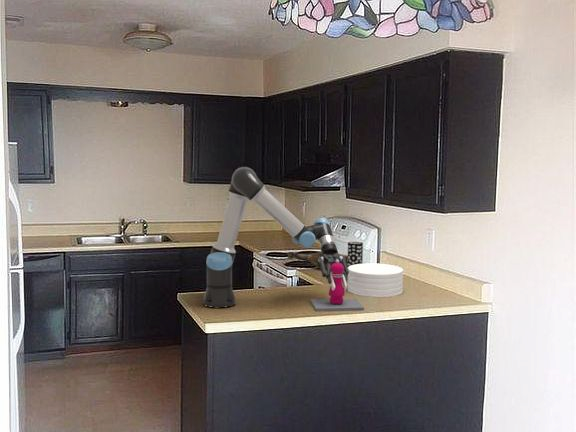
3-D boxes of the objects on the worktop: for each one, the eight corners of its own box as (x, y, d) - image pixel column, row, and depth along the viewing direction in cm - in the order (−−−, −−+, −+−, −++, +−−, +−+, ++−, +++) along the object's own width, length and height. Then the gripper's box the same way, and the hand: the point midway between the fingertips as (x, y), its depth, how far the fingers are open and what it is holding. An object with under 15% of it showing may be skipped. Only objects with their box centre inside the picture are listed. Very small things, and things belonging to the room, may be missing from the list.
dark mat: (315, 311, 273) (315, 308, 273) (310, 301, 289) (310, 299, 289) (363, 310, 275) (363, 307, 275) (356, 301, 291) (356, 298, 291)
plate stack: (346, 295, 302) (346, 273, 300) (348, 283, 329) (349, 262, 328) (403, 298, 298) (404, 275, 296) (401, 285, 325) (401, 264, 324)
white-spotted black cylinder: (360, 280, 335) (361, 244, 333) (345, 279, 338) (346, 243, 336) (363, 277, 343) (364, 242, 341) (349, 276, 346) (349, 241, 343)
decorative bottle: (358, 265, 361) (293, 256, 384) (355, 251, 356) (289, 243, 378) (352, 277, 354) (285, 267, 376) (348, 263, 348) (281, 254, 371)
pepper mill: (331, 304, 277) (332, 261, 275) (326, 300, 284) (327, 258, 282) (346, 303, 279) (347, 260, 277) (340, 299, 286) (341, 257, 284)
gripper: (343, 250, 296) (355, 291, 283) (308, 252, 291) (319, 293, 278) (348, 241, 291) (360, 283, 277) (312, 242, 286) (323, 285, 272)
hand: (339, 288), depth 277 cm, fingers open, 5 cm apart
